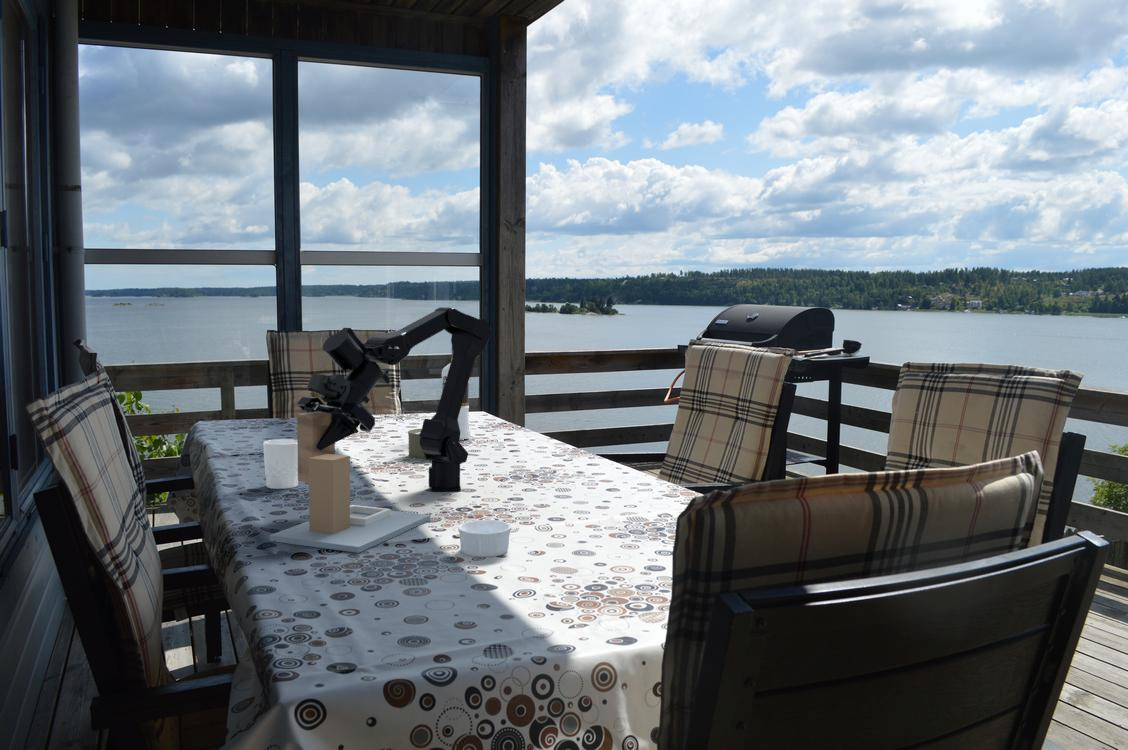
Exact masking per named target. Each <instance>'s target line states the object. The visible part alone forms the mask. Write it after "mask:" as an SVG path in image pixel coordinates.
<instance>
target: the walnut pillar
mask: <svg viewBox="0 0 1128 750" xmlns="http://www.w3.org/2000/svg"><path fill="white" fill-rule="evenodd" d="M296 417H297V418H296V422H297V423H296V425H297V426H296V428H297V429H296V432H297V434H296V435H297V436H296V437H297V438H296V440H297V448H298V482H302V483H306V484H309V458H311V457H315V456H319V455H323V454H335V455H336V453H335V452H336V446H335V445H336V443H334V444H332V445H330V446H328V447H326V448H324V449H322V450H319V449H318V448H317V445H318V443H319V441H320V439H321V438H322V436H323V434H324V433H325V431H326V430H327V428H328V427H329V425H330V423H331V417H332V414H331V413H326V412H320V411H318V412H309V413H304V412H303V413H302V412H300V413H296Z"/></svg>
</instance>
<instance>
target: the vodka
mask: <svg viewBox="0 0 1128 750" xmlns="http://www.w3.org/2000/svg"><path fill="white" fill-rule="evenodd" d="M453 354H454V352H453V347H452V346H451V361H452V358H453ZM451 361H450V363H448V364H447V365H446V366H444V367H443V369H442V370H441V383H442V384H441V385H442V387H441V389H442V390H441V393H442V392H443V388H444V385H445V382H446V378H447V375H448V371H449V368H450V365H451ZM469 386H470V381H469V382H468V385H467V389H466V392H465V396H464V399H463V402H462V406H461V409H460V413H459V416H458V424H459V428H460V439H459V440H461V441H464V440H463V439H467V440H468V439H470V437H471V429H470V422H469V419H470V418H469V412H470V411H469V409H470V405H469V398H470V396H469V395H470V393H469V391H470V390H469V388H470V387H469Z"/></svg>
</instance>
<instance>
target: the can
mask: <svg viewBox="0 0 1128 750" xmlns="http://www.w3.org/2000/svg"><path fill="white" fill-rule="evenodd" d="M421 430H422V428H416V429H410V430H408V431H407V434H408V436H407V437H408V458H409V457H411V458H410V459H412V458H415V459H414V460H417V459H422V460H421V461H427V460H426V459H425V456H424V453H423V450H422V448H421V446H420V437H421V436H419V434H420V432H421Z"/></svg>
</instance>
